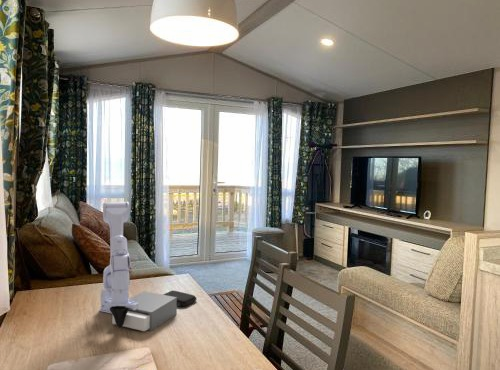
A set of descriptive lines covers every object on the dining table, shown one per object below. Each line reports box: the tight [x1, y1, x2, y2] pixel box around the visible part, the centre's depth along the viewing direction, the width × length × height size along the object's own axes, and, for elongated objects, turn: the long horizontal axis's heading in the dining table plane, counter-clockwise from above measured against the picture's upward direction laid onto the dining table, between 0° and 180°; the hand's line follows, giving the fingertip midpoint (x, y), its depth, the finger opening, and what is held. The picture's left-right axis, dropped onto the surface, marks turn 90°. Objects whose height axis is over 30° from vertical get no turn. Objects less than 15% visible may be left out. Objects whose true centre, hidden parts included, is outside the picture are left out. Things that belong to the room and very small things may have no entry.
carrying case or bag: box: [162, 290, 197, 308], centre depth 163 cm, size 11×3×15 cm
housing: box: [128, 290, 178, 331], centre depth 145 cm, size 16×16×7 cm
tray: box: [111, 311, 150, 332], centre depth 142 cm, size 14×14×5 cm
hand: (120, 325), depth 134 cm, fingers closed, pressing on tray
